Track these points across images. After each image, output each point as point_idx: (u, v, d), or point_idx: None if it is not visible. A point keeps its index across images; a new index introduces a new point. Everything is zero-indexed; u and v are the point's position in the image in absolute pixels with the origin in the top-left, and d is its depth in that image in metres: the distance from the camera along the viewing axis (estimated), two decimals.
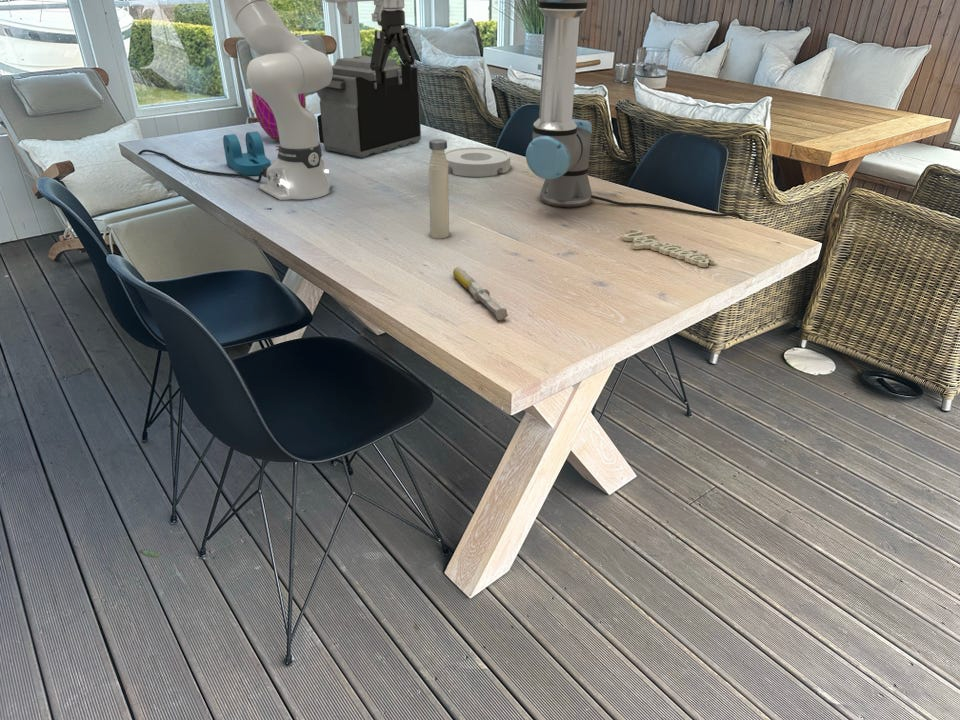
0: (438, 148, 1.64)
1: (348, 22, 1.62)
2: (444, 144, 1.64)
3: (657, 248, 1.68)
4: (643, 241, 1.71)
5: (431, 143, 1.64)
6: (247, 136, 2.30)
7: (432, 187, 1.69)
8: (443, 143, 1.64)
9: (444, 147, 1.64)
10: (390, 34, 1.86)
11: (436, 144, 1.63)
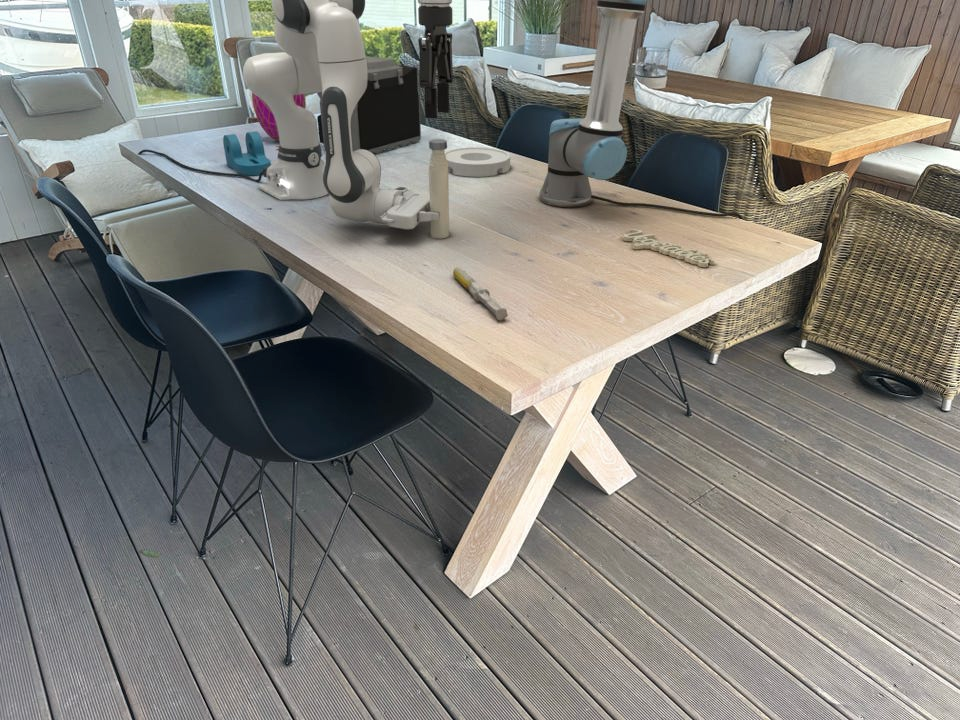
0: (438, 148, 1.64)
1: None
2: (444, 144, 1.64)
3: (657, 248, 1.68)
4: (643, 241, 1.71)
5: (431, 143, 1.64)
6: (247, 136, 2.30)
7: (432, 187, 1.69)
8: (443, 143, 1.64)
9: (444, 147, 1.64)
10: None
11: (436, 144, 1.63)
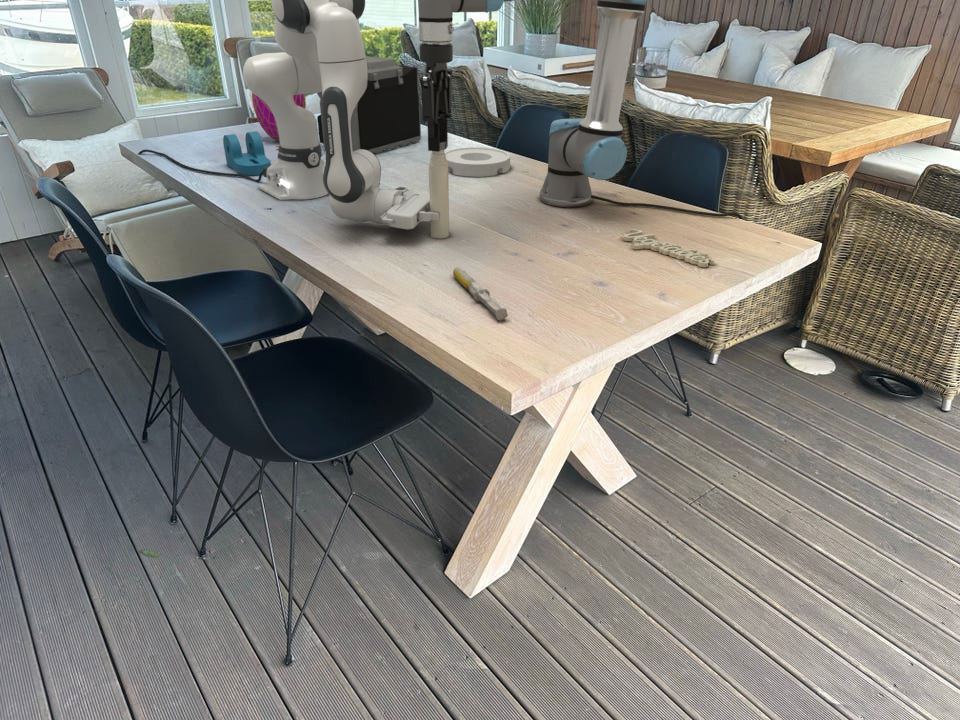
0: None
1: None
2: (444, 144, 1.64)
3: (657, 248, 1.68)
4: (643, 241, 1.71)
5: None
6: (247, 136, 2.30)
7: (432, 187, 1.69)
8: (443, 143, 1.64)
9: (444, 147, 1.64)
10: None
11: None
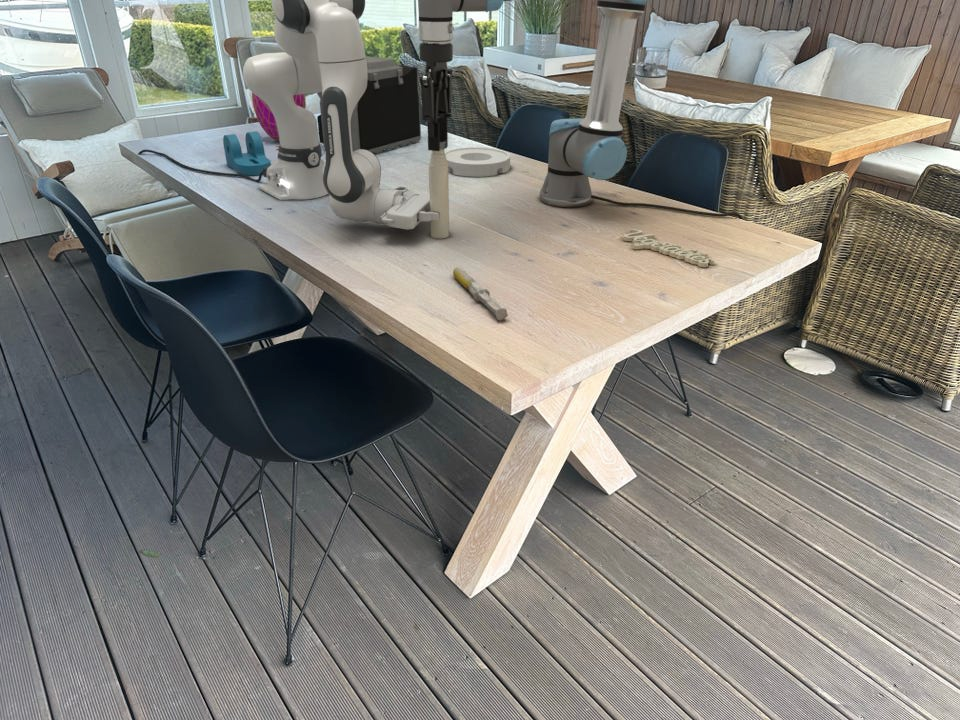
0: None
1: None
2: None
3: (657, 248, 1.68)
4: (643, 241, 1.71)
5: (446, 141, 1.65)
6: (247, 136, 2.30)
7: (432, 187, 1.69)
8: None
9: None
10: None
11: None
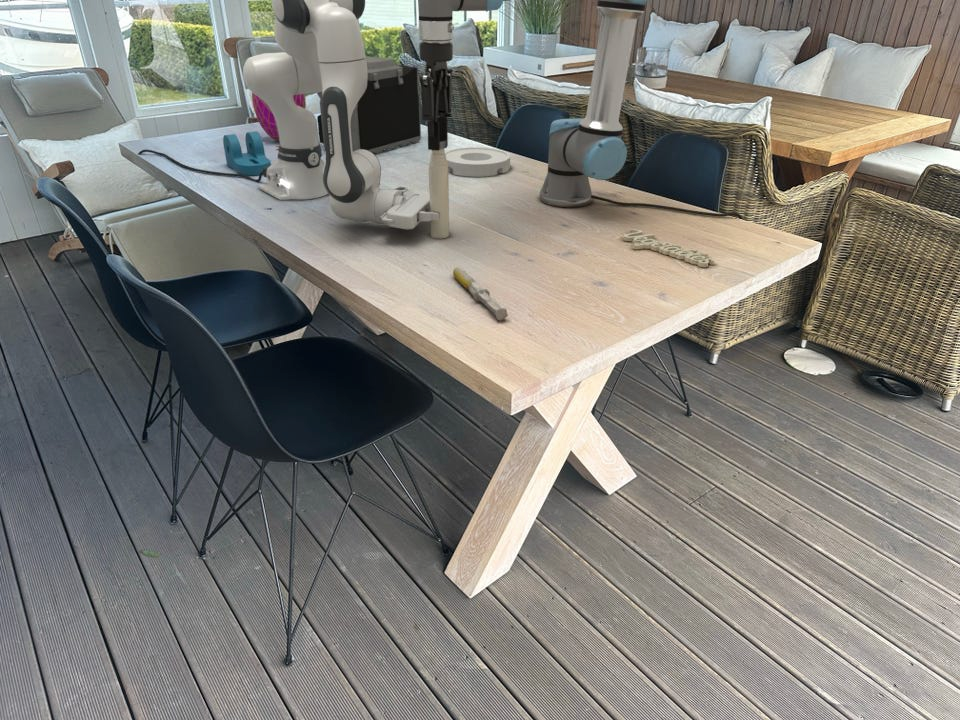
0: None
1: None
2: None
3: (657, 248, 1.68)
4: (643, 241, 1.71)
5: None
6: (247, 136, 2.30)
7: (432, 187, 1.69)
8: None
9: None
10: None
11: None
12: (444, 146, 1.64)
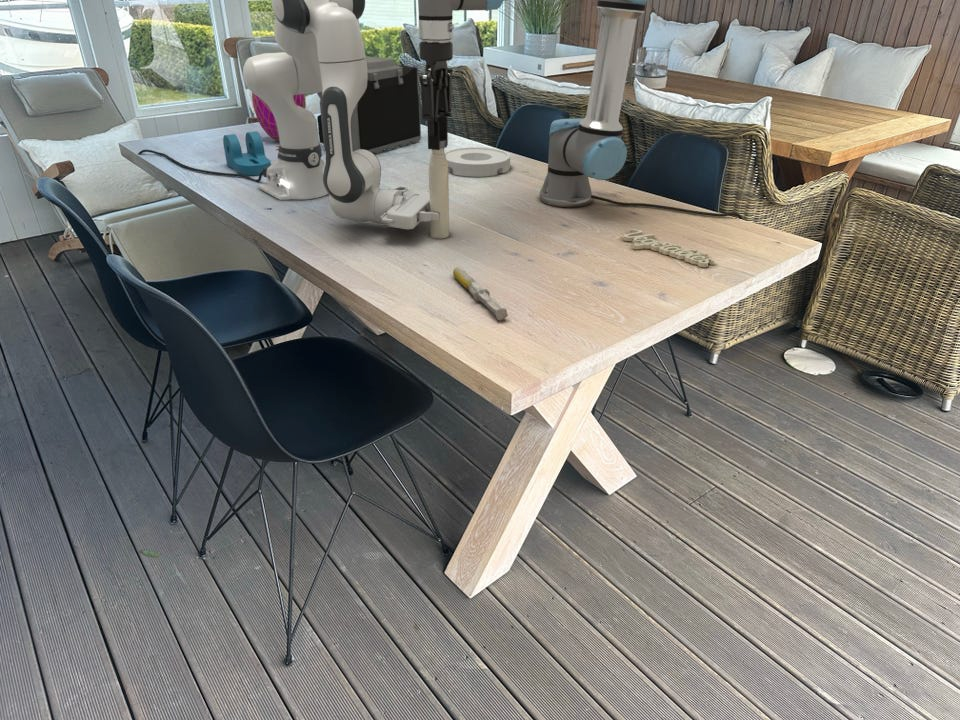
0: (442, 146, 1.64)
1: None
2: (446, 142, 1.65)
3: (657, 248, 1.68)
4: (643, 241, 1.71)
5: None
6: (247, 136, 2.30)
7: (432, 187, 1.69)
8: (446, 141, 1.64)
9: (446, 145, 1.65)
10: None
11: (440, 142, 1.63)
12: None
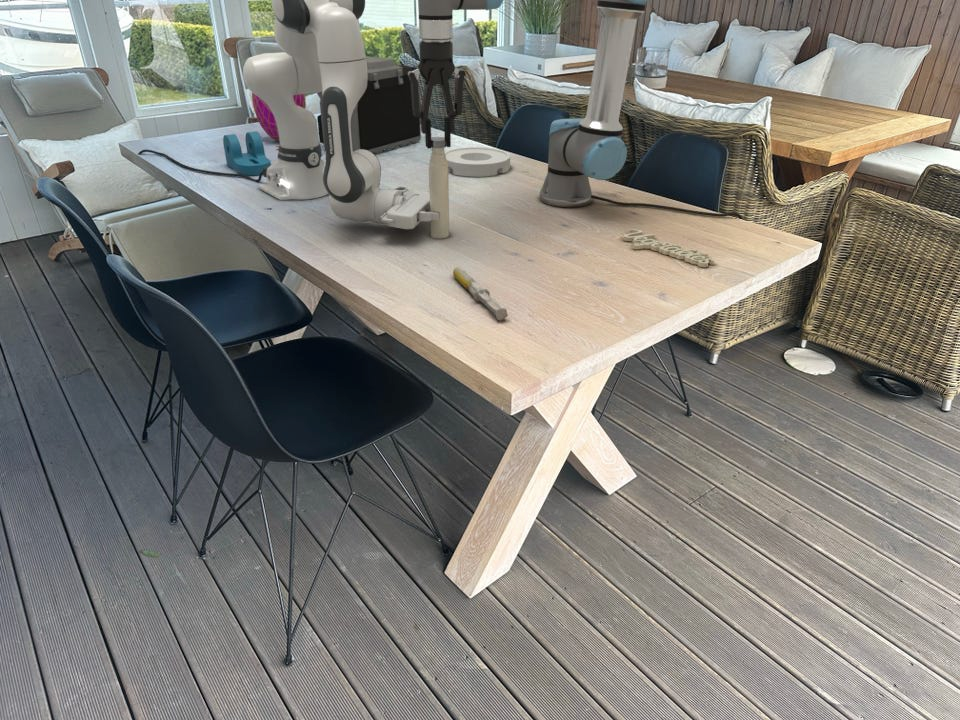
0: None
1: None
2: None
3: (657, 248, 1.68)
4: (643, 241, 1.71)
5: None
6: (247, 136, 2.30)
7: (432, 187, 1.69)
8: None
9: None
10: (427, 68, 1.55)
11: None
12: (431, 145, 1.64)
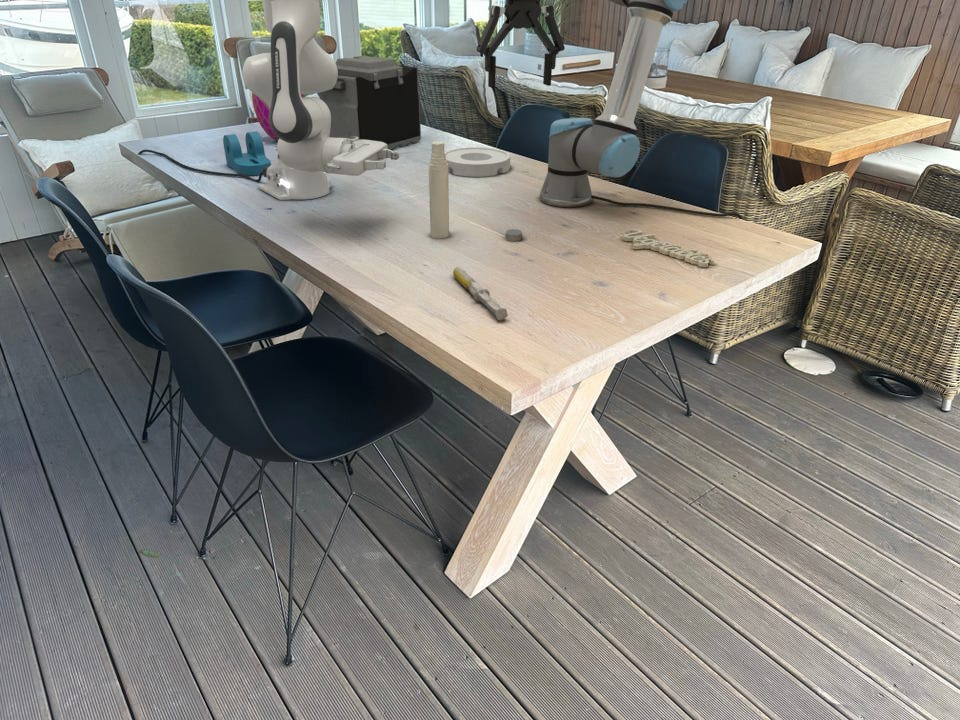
0: None
1: (397, 158, 1.75)
2: None
3: (657, 248, 1.68)
4: (643, 241, 1.71)
5: None
6: (247, 136, 2.30)
7: (432, 187, 1.69)
8: None
9: None
10: (513, 11, 1.47)
11: None
12: (508, 238, 1.74)
